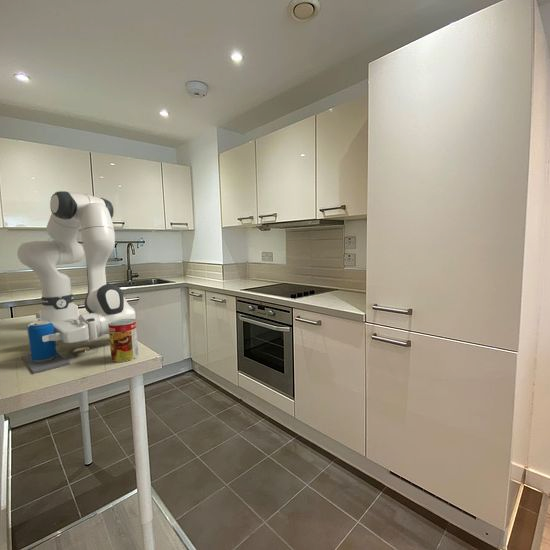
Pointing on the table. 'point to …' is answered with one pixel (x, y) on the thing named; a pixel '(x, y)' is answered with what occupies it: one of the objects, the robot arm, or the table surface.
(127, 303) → the robot arm
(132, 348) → the canned food
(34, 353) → the beverage can
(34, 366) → the charcoal mat
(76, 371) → the table surface
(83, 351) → the tan flat disc
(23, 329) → the table surface
